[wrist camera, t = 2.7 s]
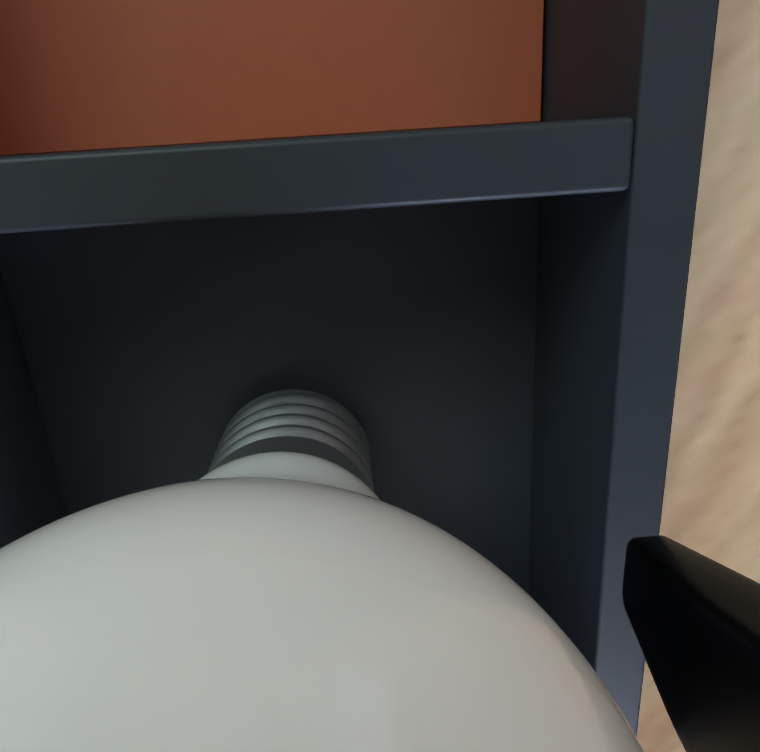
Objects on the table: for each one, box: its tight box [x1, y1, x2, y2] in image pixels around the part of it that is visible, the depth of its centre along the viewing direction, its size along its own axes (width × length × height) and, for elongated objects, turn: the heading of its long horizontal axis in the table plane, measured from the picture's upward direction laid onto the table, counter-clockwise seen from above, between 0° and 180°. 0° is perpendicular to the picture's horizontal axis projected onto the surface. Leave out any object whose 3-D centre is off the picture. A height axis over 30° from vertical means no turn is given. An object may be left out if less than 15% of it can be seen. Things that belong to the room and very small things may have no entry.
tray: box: [0, 0, 719, 736], centre depth 9 cm, size 11×20×4 cm, turn 4°
